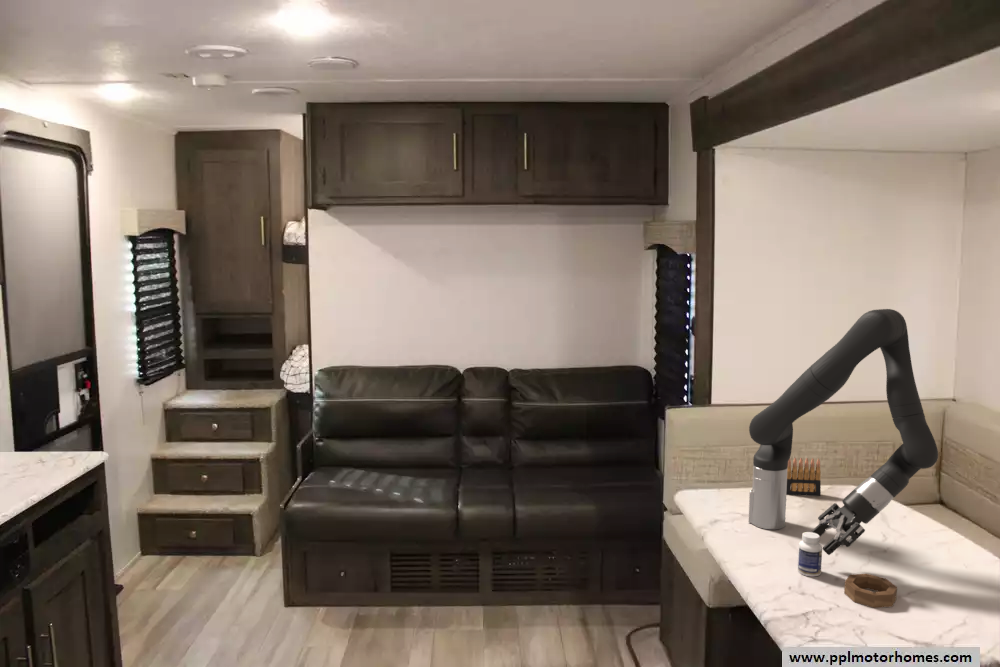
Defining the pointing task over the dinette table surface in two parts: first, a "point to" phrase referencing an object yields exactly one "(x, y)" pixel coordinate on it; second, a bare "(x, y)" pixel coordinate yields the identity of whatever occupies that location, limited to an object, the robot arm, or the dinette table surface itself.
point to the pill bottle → (810, 555)
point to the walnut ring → (858, 594)
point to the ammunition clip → (804, 478)
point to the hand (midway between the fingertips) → (818, 544)
